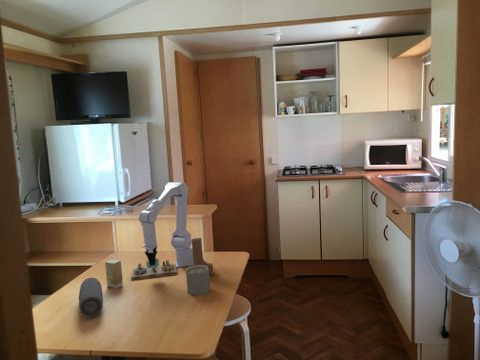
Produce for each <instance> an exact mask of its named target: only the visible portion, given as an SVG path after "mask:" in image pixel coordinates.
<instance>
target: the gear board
mask: <svg viewBox="0 0 480 360" xmlns="http://www.w3.org/2000/svg"><path fill="white" fill-rule="evenodd" d="M174 275H178V271H177V267H176V263H175V264H174V263H173V262H170V261H169V259H165V261H162V265H161V266H160V265H159V266H158V267H155V268H148V267H146V266H142V263H137V267H135V268H133V269H132V271H131V276H130V280H131V281H137V280H143V279H144V280H145V279H152V278H159V277H167V276H174Z"/></svg>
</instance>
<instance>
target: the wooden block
mask: <svg viewBox="0 0 480 360" xmlns="http://www.w3.org/2000/svg"><path fill="white" fill-rule="evenodd" d="M191 240H192V244H191V247H192V250H193V262H194V265H193V266H195V265H205V266H207V267H208V269H209V276H213V275H214V265H213V263H212V262H211V263H208V262H206V261H205V260H204V256H203V255H204V253H203V244H202V243H203V242H202V237H195V238H194V237H193V238H191Z"/></svg>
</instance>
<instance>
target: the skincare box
mask: <svg viewBox="0 0 480 360" xmlns="http://www.w3.org/2000/svg"><path fill="white" fill-rule="evenodd" d="M104 265H105V266H104V267H105V274H106V275H105V276H106V285H107V287H108V288H114V289H118V288H120V287H122V286H123V285H124V281H123V273H122V272H123V270H122V268H123V267H122V260H118V259H112V258H111V259H108V260H107V261H105V262H104Z"/></svg>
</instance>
